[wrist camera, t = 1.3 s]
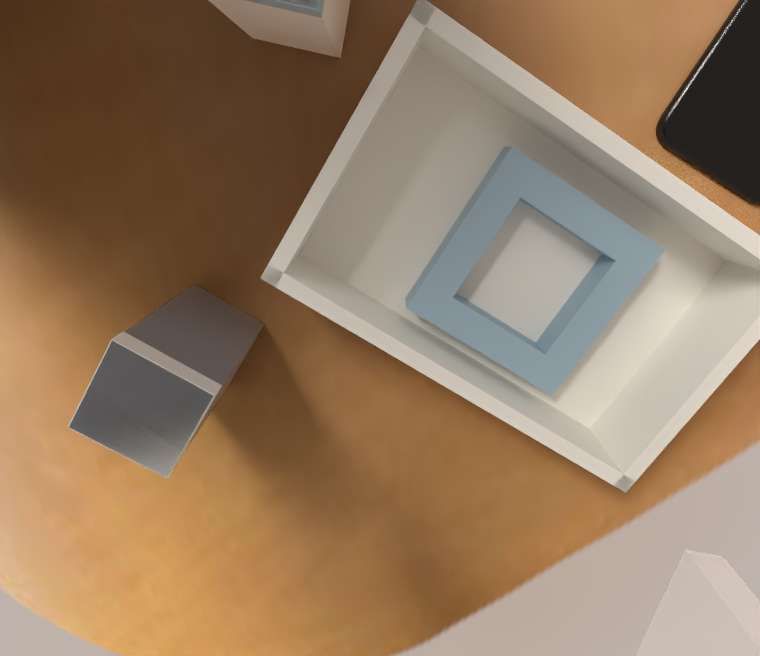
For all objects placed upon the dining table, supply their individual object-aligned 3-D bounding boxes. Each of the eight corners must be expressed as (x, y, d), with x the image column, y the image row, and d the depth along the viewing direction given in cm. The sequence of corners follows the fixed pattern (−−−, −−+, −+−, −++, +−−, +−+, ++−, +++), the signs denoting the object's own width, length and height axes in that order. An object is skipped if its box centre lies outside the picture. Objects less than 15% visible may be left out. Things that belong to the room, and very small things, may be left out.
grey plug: (160, 347, 33) (67, 427, 23) (194, 282, 32) (111, 338, 22) (229, 386, 34) (167, 478, 24) (265, 323, 32) (215, 395, 23)
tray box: (281, 257, 31) (260, 278, 26) (413, 25, 28) (419, -5, 22) (589, 440, 34) (625, 492, 29) (742, 254, 31) (815, 274, 26)
